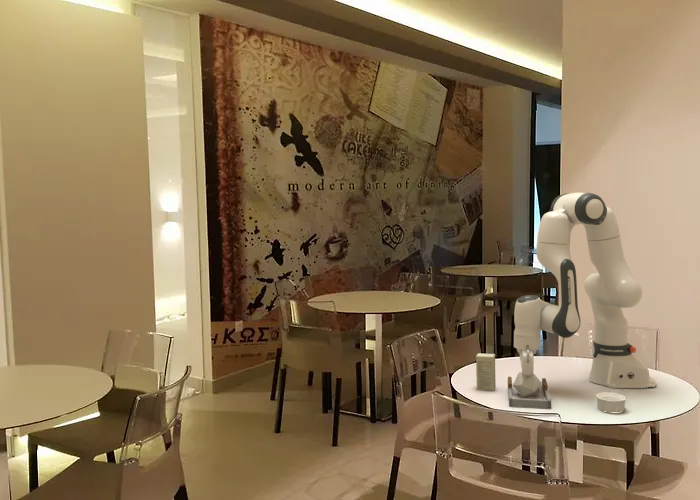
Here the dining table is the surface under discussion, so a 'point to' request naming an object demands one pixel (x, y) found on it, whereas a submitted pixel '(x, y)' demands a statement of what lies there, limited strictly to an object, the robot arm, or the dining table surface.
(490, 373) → the skincare box
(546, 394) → the tray
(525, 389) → the die
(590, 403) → the dining table surface
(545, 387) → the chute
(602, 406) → the ramekin
